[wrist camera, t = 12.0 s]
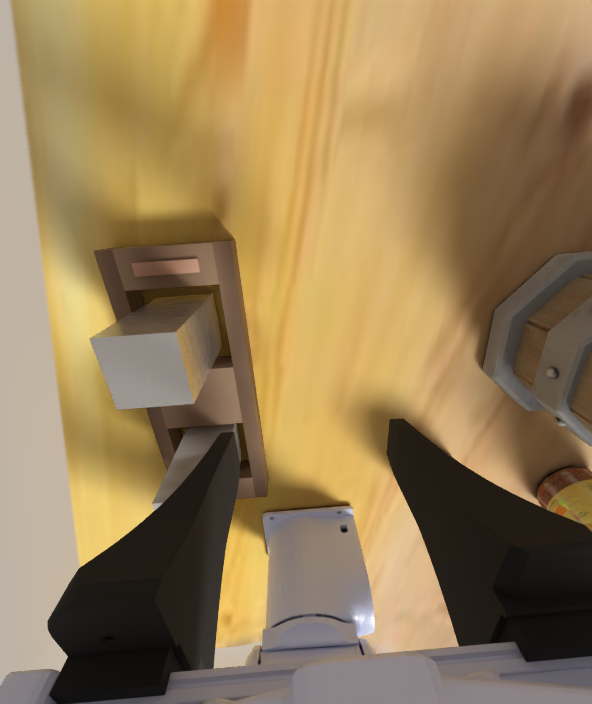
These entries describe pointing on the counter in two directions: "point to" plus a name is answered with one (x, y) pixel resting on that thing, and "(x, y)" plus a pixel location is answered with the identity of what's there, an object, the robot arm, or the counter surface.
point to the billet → (160, 351)
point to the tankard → (548, 343)
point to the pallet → (226, 373)
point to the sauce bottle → (568, 494)
